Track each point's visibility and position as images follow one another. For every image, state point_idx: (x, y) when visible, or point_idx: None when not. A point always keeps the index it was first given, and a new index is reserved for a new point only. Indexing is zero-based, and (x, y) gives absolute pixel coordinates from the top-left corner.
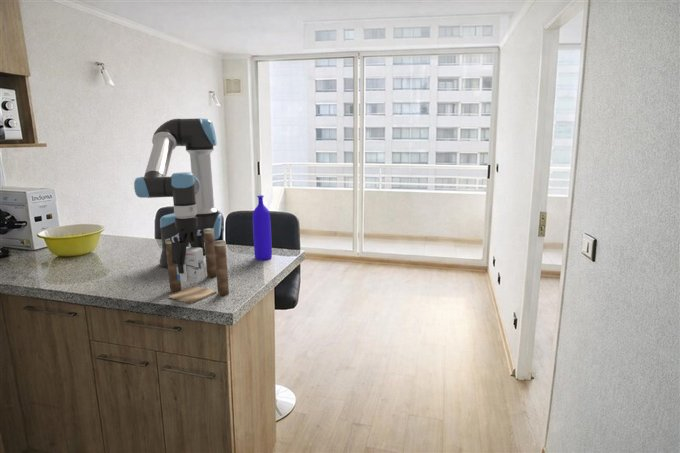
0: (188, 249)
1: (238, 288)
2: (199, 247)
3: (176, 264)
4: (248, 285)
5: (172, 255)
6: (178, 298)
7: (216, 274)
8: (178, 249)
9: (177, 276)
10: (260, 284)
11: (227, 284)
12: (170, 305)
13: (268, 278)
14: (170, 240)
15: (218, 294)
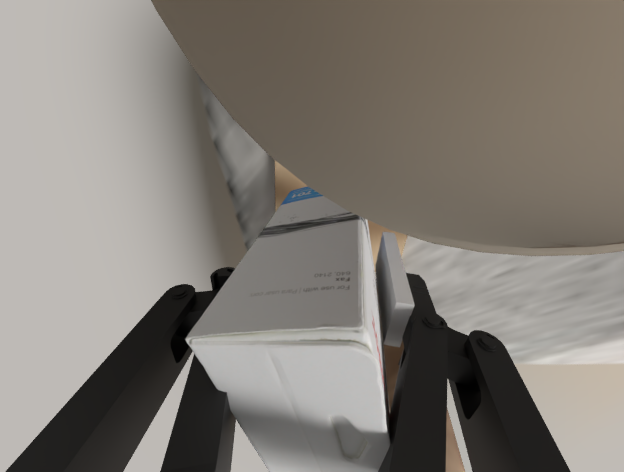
0: (290, 436)
1: (462, 310)
2: (485, 443)
3: (257, 238)
4: (503, 325)
5: (122, 347)
6: (276, 196)
7: (387, 347)
8: (113, 463)
9: (283, 201)
10: (519, 352)
11: None
12: (233, 197)
13: (604, 354)
14: (271, 51)
15: (377, 288)
